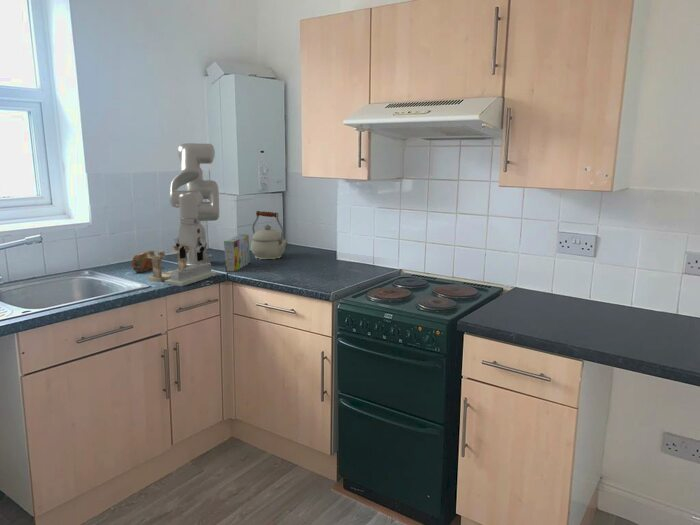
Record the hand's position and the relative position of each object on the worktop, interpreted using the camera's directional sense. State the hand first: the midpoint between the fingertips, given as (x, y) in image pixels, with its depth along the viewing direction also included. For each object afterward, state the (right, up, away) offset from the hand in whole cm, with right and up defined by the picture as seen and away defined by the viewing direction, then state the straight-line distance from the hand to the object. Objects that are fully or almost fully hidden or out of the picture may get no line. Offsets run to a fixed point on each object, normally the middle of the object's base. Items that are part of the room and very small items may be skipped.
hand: (191, 259), depth 243 cm
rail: (0, -7, +1) cm, 7 cm away
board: (0, -9, +1) cm, 9 cm away
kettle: (+28, +1, +52) cm, 59 cm away
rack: (-11, -8, +6) cm, 15 cm away
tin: (-28, -5, +19) cm, 34 cm away
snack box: (+15, -4, +28) cm, 32 cm away
